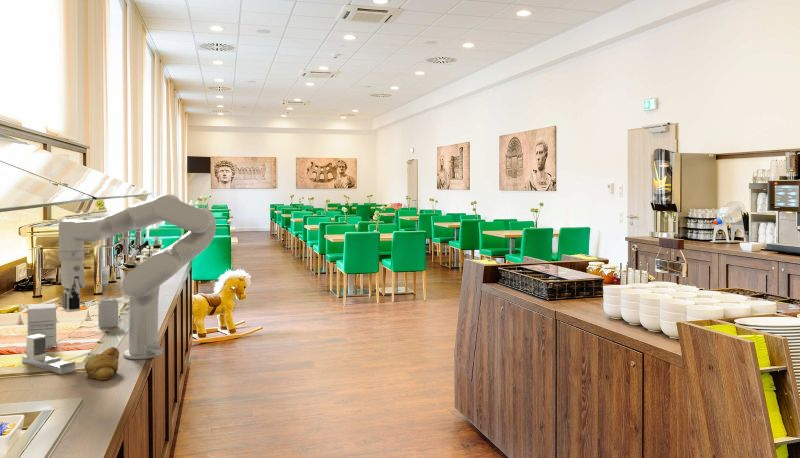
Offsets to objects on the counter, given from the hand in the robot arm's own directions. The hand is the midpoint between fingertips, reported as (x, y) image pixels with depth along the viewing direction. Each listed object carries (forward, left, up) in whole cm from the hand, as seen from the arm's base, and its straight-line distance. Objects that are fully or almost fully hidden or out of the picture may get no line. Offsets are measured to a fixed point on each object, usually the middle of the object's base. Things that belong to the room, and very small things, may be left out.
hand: (72, 307), depth 202 cm
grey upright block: (+27, -32, -17) cm, 46 cm away
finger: (0, 0, -1) cm, 1 cm away
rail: (-5, +11, -17) cm, 21 cm away
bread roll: (-27, +7, -17) cm, 33 cm away
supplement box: (+20, -1, -17) cm, 27 cm away
